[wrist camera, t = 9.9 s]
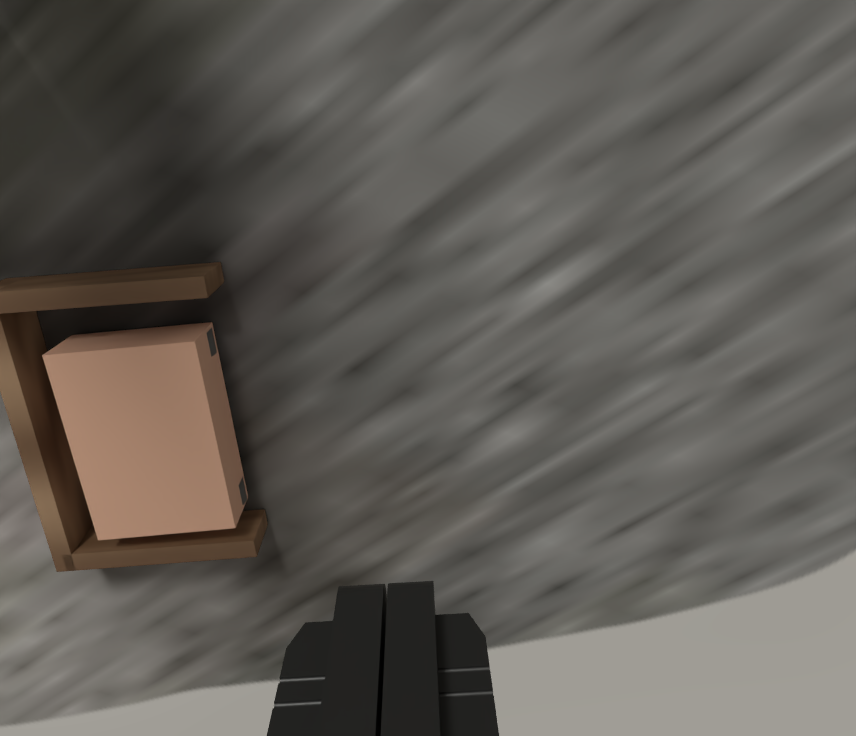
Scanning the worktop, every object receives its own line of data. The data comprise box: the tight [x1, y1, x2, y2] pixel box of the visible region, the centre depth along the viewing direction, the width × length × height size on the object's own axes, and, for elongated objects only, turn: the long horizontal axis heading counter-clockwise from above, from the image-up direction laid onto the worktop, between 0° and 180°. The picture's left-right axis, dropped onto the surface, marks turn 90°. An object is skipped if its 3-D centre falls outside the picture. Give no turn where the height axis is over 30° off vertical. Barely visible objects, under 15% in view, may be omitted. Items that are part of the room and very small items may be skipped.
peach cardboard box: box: [42, 322, 248, 540], centre depth 35 cm, size 10×7×4 cm
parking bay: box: [0, 262, 268, 572], centre depth 35 cm, size 15×10×3 cm
